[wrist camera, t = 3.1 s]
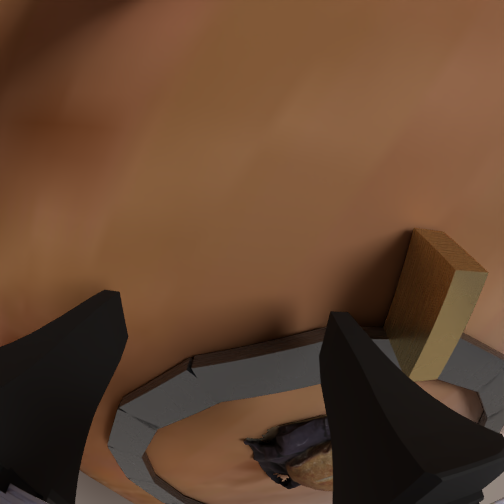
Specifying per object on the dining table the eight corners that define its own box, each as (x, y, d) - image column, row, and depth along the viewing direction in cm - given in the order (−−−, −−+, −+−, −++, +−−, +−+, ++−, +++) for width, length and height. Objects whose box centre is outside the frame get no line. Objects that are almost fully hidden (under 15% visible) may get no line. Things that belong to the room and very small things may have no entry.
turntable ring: (596, 258, 10) (624, 282, 7) (407, 508, 26) (411, 528, 23) (34, 201, 11) (-17, 231, 8) (154, 509, 26) (150, 530, 23)
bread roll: (412, 378, 15) (432, 429, 12) (407, 443, 18) (418, 482, 15) (232, 420, 17) (226, 472, 14) (271, 473, 20) (271, 513, 17)
